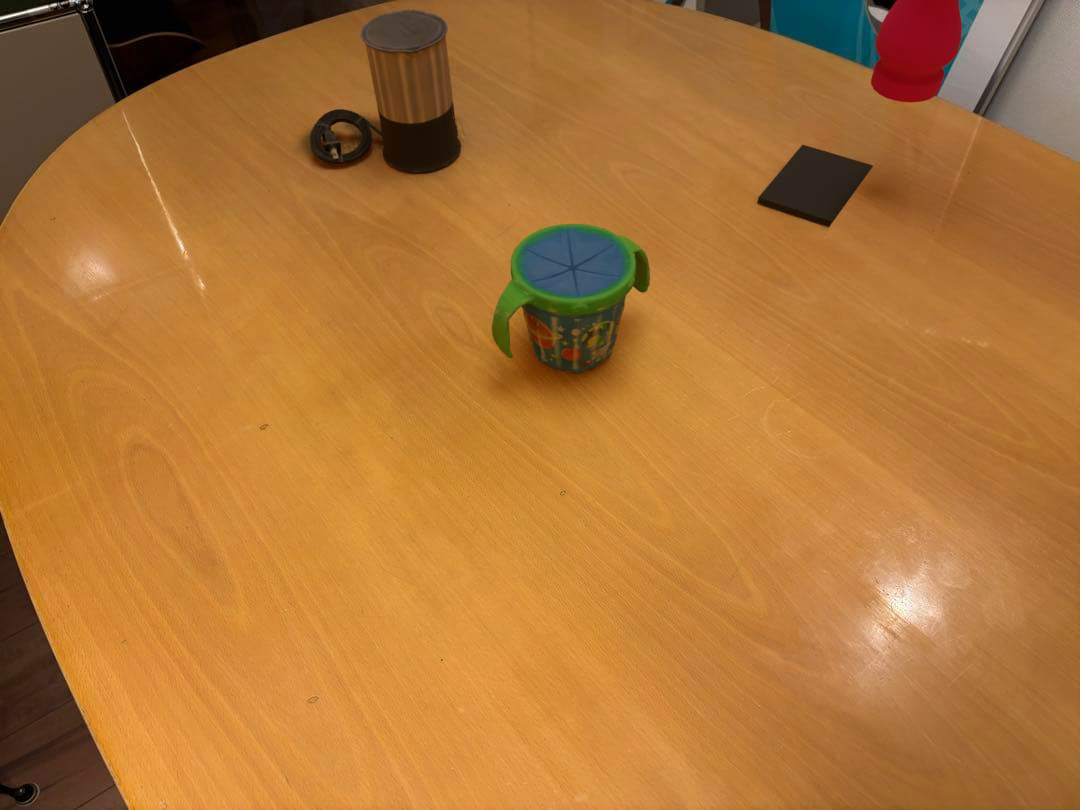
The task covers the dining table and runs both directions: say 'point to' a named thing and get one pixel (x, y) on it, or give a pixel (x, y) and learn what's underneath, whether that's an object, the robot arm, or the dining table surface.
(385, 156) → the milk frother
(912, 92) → the pepper mill
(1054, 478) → the dining table surface
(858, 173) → the mat
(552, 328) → the snack cup
